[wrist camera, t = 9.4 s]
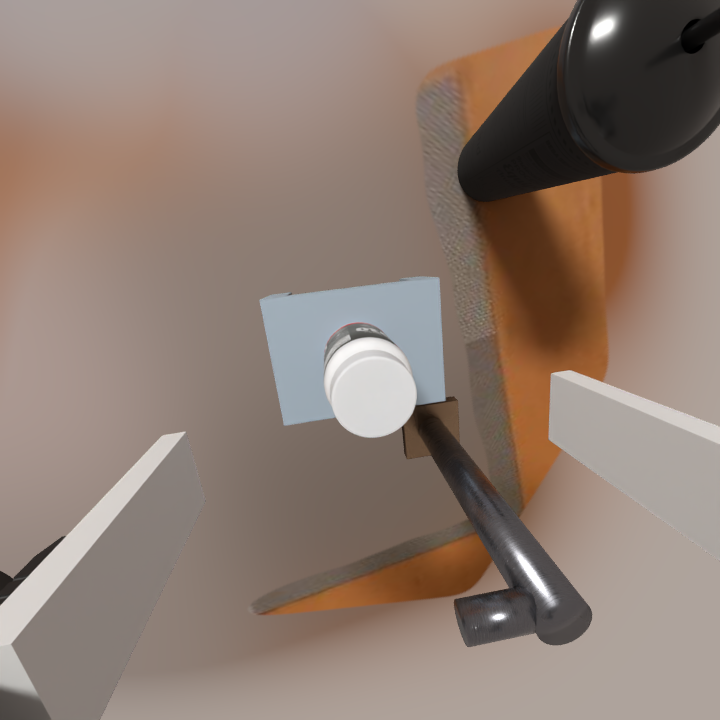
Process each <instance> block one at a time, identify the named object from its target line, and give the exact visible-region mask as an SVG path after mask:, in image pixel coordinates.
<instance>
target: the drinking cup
mask: <svg viewBox="0 0 720 720" xmlns="http://www.w3.org/2000/svg"><path fill="white" fill-rule="evenodd" d="M719 124H720V0H577V2H576V4H575V6H574V8H573V10H572V12H571V14H570V17H569V18H568V19H567V21H566V22H565V23H564V24H563V26H562V27H561V28H560V29H559V30H558V32H557V33H556V34H555V35H554V37H553V38H552V39H551V40H550V42H549V43H548V44H547V45H546V47H545V48H544V49H543V50H542V51H541V53H540V54H539V55H538V56H537V58H536V59H535V60H534V61H533V63H532V64H531V65H530V66H529V67H528V69H527V70H526V71H525V72H524V74H523V75H522V76H521V77H520V79H519V80H518V81H517V82H516V84H515V85H514V86H513V87H512V88H511V90H510V91H509V92H508V93H507V95H506V96H505V97H504V98H503V100H502V101H501V102H500V103H499V105H498V106H497V107H496V108H495V109H494V111H493V112H492V113H491V114H490V116H489V117H488V118H487V119H486V121H485V122H484V123H483V124H482V125H481V127H480V128H479V129H478V130H477V132H476V133H475V134H474V135H473V137H472V138H471V139H470V140H469V142H468V143H467V144H466V145H465V147H464V148H463V150H462V152H461V155H460V157H459V162H458V177H459V181H460V184H461V186H462V188H463V189H464V191H465V192H466V193H467V194H468V195H469V196H470V197H472V198H473V199H475V200H478V201H482V202H489V201H494V200H498V199H503V198H507V197H511V196H516V195H520V194H524V193H529V192H533V191H538V190H542V189H546V188H551V187H555V186H559V185H564V184H568V183H573V182H577V181H581V180H586V179H590V178H594V177H599V176H603V175H608V174H611V173H616V172H621V173H633V174H635V173H644V172H649V171H653V170H656V169H659V168H663V167H666V166H668V165H670V164H673V163H675V162H677V161H679V160H680V159H682V158H684V157H685V156H687V155H688V154H690V153H691V152H692V151H693V150H695V149H696V148H697V147H699V146H700V145H701V144H702V143H703V142H704V141H705V140H706V139H707V138H708V137H709V136H710V135H711V134H712V133H713V132H714V131H715V129H716V128H717V126H719Z"/></svg>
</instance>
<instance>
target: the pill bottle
mask: <svg viewBox="0 0 720 720" xmlns="http://www.w3.org/2000/svg"><path fill="white" fill-rule="evenodd" d="M324 389H325V393H326V396H327V399H328V401H329V403H330V405H331V406H332V409H333V412H334V414H335V417H336V418H337V420H338V421H339V423H340V424H341V425H342V426H343V427H344V428H345V429H346V430H348V431H349V432H351V433H353V434H355V435H358V436H361V437H367V438H378V437H383V436H386V435H389V434H391V433H393V432H395V431H396V430H398V429H399V428H401V427H402V426H403V425H404V424H405V423H406V422H407V421H408V419H409V418H410V417H411V415H412V413H413V411H414V408H415V405H416V400H417V389H416V384H415V381H414V379H413V374H412V369H411V366H410V363H409V361H408V359H407V357H406V356H405V354H404V353H403V351H402V350H401V349H400V348H399V347H398V346H397V345H396V344H395V343H394V342H393V341H392V340H391V339H390V338H389V337H388V336H387V335H386V334H385V333H384V332H383V331H382V330H380V329H379V328H378V327H376V326H374V325H371V324H368V323H364V322H354V323H350V324H347V325H344V326H342V327H341V328H339V329H338V330H336V331H335V332H334V333H333V334H332V335H331V337H330V338H329V340H328V342H327V344H326V347H325V351H324Z"/></svg>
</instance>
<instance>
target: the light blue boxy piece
mask: <svg viewBox="0 0 720 720" xmlns="http://www.w3.org/2000/svg"><path fill="white" fill-rule="evenodd" d="M260 305H261V310H262V315H263V320H264V325H265V330H266V336H267V341H268V346H269V351H270V356H271V361H272V366H273V371H274V376H275V382H276V387H277V391H278V397H279V402H280V407H281V412H282V416H283V422H284V425H291V424H297V423H304V422H311V421H317V420H324V419H330V418H336V417H335V414H334V412H333V409H332V406H331V405H330V403H329V401H328V399H327V396H326V393H325V389H324V351H325V347H326V344H327V342H328V340H329V338H330V337H331V335H332V334H333V333H334V332H335V331H336V330H338V329H339V328H341V327H342V326H344V325H347V324H350V323H354V322H364V323H368V324H371V325H374V326H376V327H378V328H379V329H380V330H382V331H383V332H384V333H385V334H386V335H387V336H388V337H389V338H390V339H391V340H392V341H393V342H394V343H395V344H396V345H397V346H398V347H399V348H400V349H401V350H402V351H403V353H404V354H405V356H406V357H407V359H408V361H409V363H410V366H411V369H412V374H413V379H414V381H415V384H416V389H417V400H416V405H421V404H428V403H434V402H441V401H446V400H445V381H444V362H443V342H442V322H441V302H440V283H439V278H438V277H411V278H403V279H400V281H399V282H391V283H383V284H375V285H367V286H359V287H351V288H343V289H336V290H328V291H319V292H311V293H304V294H295V295H292V293H291V292H290V293H282V294H274V295H270V296H268V297H265V298H263V299H261V300H260Z"/></svg>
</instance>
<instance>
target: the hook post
mask: <svg viewBox="0 0 720 720" xmlns="http://www.w3.org/2000/svg"><path fill="white" fill-rule="evenodd" d="M445 400H446V401H441V402H434V403H428V404H421V405H415V408H414V411H413V413H412V415H411V417H410V418H409V419H408V421H407V422H406V423H405V424H404V425H403V426H402V431H403V441H404V442H403V443H404V453H405V456H406V458H407V459H412V458H417V457H423V456H430V455H431V456H432V457H433V459H434V461H435V463H436V464H437V466H438V467H439V469H440V471H441V473H442V474H443V476H444V478H445V479H446V481H447V483H448V485H449V486H450V488H451V490H452V491H453V493H454V495H455V496H456V498H457V500H458V501H459V503H460V505H461V507H462V508H463V510H464V512H465V513H466V515H467V517H468V519H469V520H470V522H471V524H472V525H473V527H474V529H475V530H476V532H477V534H478V535H479V537H480V539H481V541H482V542H483V544H484V546H485V547H486V549H487V551H488V552H489V554H490V556H491V558H492V559H493V561H494V563H495V564H496V566H497V568H498V569H499V571H500V573H501V575H502V576H503V578H504V579H505V581H506V583H507V584H508V586H509V589H504V590H499V591H494V592H489V593H484V594H479V595H474V596H469V597H464V598H459V599H455V600H454V608H455V614H456V618H457V622H458V626H459V629H460V632H461V635H462V637H463V640H464V642H465V644H466V646H467V647H472V646H477V645H481V644H486V643H491V642H495V641H500V640H505V639H510V638H515V637H519V636H524V635H529V634H534V633H536V634H537V636H538V637H539V639H540V640H541V641H543V642H544V643H546V644H550V645H562V644H566V643H569V642H572V641H573V640H575V639H577V638H578V637H580V636H581V635H582V634H583V633H584V632H585V631H586V630H587V629H588V627H589V625H590V622H591V620H592V611H591V609H590V607H589V606H588V604H587V603H586V602H585V601H584V599H583V598H582V597H581V596H580V594H579V593H578V592H577V591H576V589H575V588H574V587H573V586H572V584H571V583H570V582H569V580H568V579H567V578H566V577H565V576H564V574H563V573H562V572H561V571H560V569H559V568H558V567H557V565H556V564H555V563H554V562H553V560H552V559H551V558H550V557H549V555H548V554H547V553H546V552H545V550H544V549H543V548H542V547H541V545H540V544H539V543H538V541H537V540H536V539H535V538H534V537H533V535H532V534H531V533H530V531H529V530H528V529H527V528H526V527H525V525H524V524H523V523H522V521H521V520H520V519H519V518H518V516H517V515H516V514H515V513H514V511H513V510H512V509H511V508H510V506H509V505H508V504H507V503H506V501H505V500H504V499H503V497H502V496H501V495H500V494H499V492H498V491H497V490H496V489H495V487H494V486H493V485H492V484H491V482H490V481H489V480H488V479H487V477H486V476H485V475H484V474H483V472H482V471H481V470H480V469H479V467H478V466H477V465H476V464H475V462H474V461H473V460H472V459H471V457H470V456H469V455H468V453H467V452H466V451H465V450H464V448H463V447H462V446H461V445H460V442H459V441H460V440H459V416H458V400H457V399H456V398H455V397H447V398H445Z"/></svg>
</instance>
